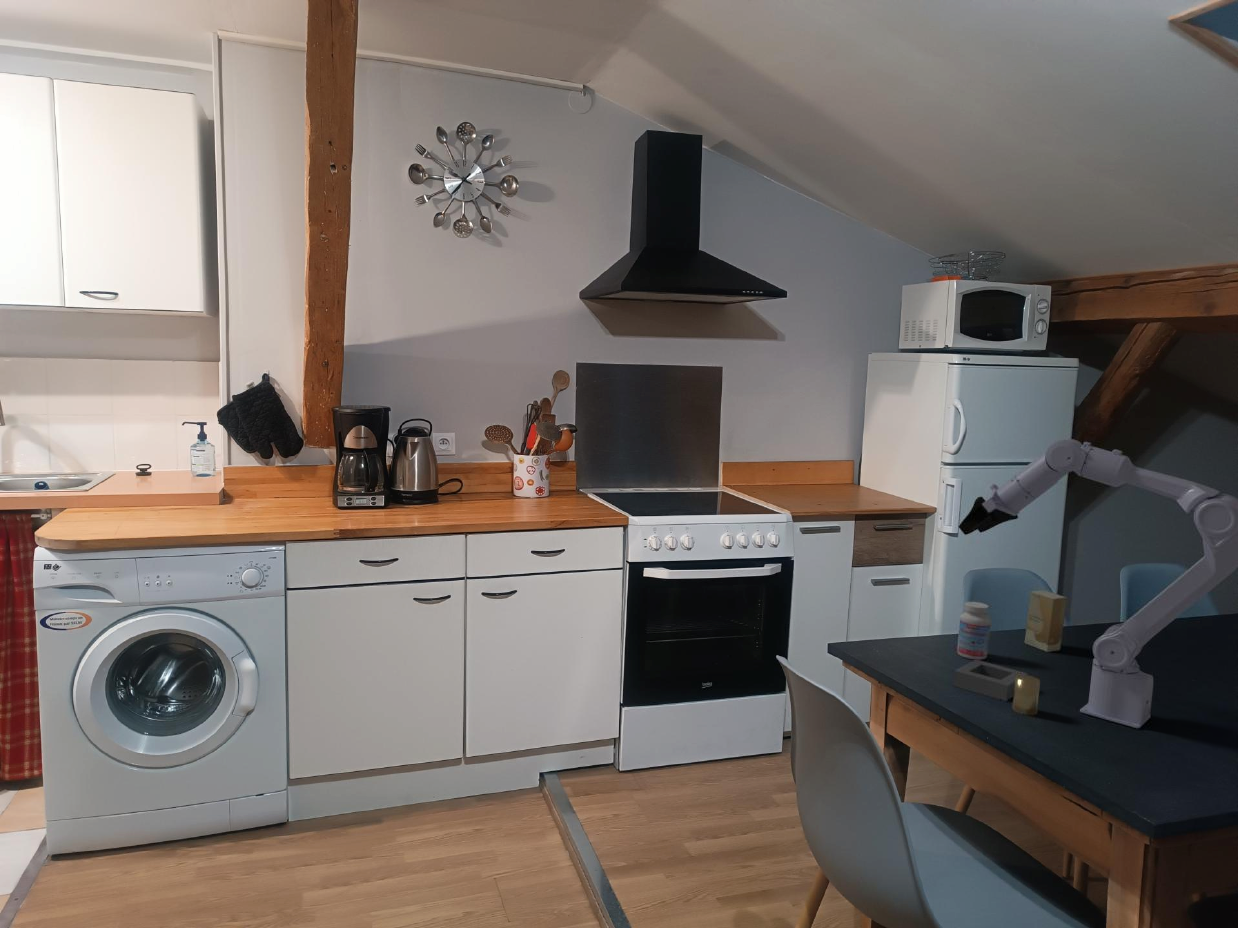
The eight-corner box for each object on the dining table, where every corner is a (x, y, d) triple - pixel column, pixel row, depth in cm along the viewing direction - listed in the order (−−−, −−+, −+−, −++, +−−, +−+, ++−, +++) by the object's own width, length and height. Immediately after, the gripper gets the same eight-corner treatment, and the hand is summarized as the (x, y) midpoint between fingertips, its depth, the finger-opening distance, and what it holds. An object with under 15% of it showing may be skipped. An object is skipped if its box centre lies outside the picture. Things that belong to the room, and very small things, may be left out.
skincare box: (1023, 643, 196) (1028, 590, 194) (1037, 641, 198) (1042, 589, 196) (1048, 652, 190) (1053, 598, 188) (1062, 650, 192) (1067, 596, 190)
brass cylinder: (1040, 711, 156) (1043, 679, 156) (1032, 717, 153) (1035, 684, 153) (1017, 704, 159) (1020, 673, 158) (1008, 710, 156) (1012, 678, 155)
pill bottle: (955, 656, 184) (959, 605, 183) (958, 649, 190) (963, 599, 188) (985, 662, 182) (990, 610, 180) (988, 654, 187) (993, 603, 186)
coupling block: (1025, 688, 167) (1027, 673, 167) (1006, 701, 160) (1007, 685, 160) (974, 673, 174) (975, 659, 174) (953, 685, 167) (954, 670, 167)
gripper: (1025, 469, 170) (971, 511, 177) (998, 470, 160) (941, 514, 167) (1049, 498, 167) (993, 539, 174) (1023, 500, 156) (965, 544, 164)
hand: (969, 529), depth 170 cm, fingers open, 7 cm apart
